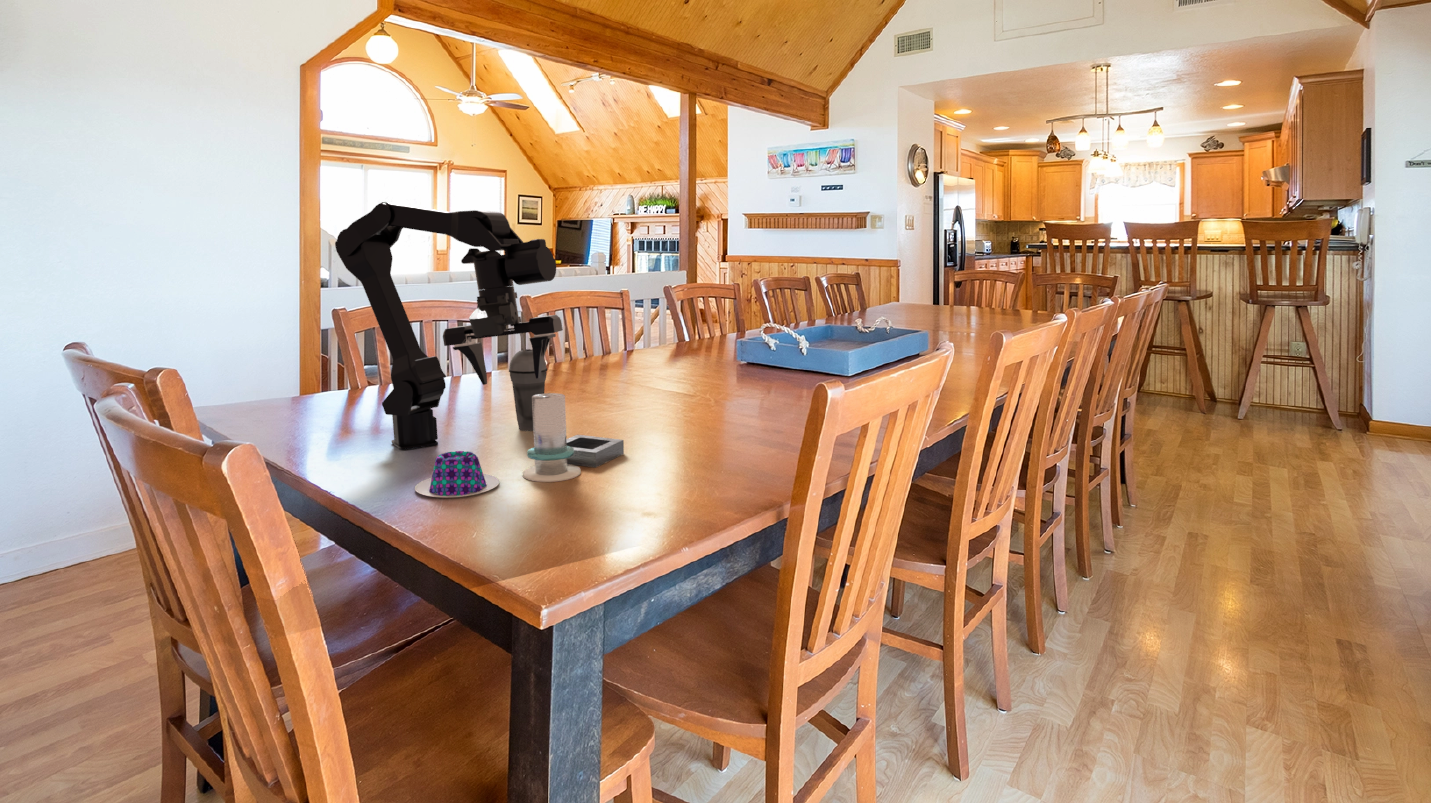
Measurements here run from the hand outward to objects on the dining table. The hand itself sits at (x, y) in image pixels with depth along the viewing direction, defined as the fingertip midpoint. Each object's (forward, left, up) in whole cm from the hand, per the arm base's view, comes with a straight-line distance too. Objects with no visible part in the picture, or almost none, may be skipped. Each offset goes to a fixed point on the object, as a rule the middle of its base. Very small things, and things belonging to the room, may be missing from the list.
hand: (511, 381), depth 132 cm
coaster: (0, -14, -13) cm, 19 cm away
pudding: (-14, -12, -13) cm, 23 cm away
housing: (+9, -9, -13) cm, 18 cm away
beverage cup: (+10, +17, -13) cm, 23 cm away
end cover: (0, -14, -12) cm, 19 cm away
